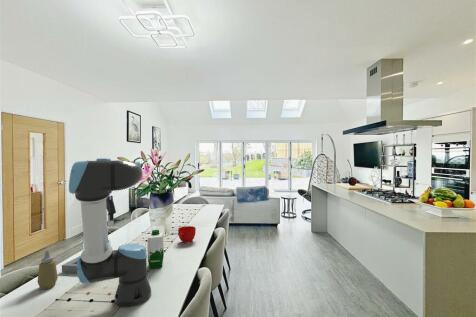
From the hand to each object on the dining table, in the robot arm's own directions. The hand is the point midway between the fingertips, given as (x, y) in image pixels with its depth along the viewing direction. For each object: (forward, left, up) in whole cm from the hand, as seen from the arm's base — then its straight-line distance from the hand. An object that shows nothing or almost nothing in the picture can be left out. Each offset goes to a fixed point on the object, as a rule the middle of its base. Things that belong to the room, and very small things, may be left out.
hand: (104, 224), depth 139 cm
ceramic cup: (+52, -28, -27) cm, 65 cm away
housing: (+10, +17, -26) cm, 33 cm away
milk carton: (+11, -24, -27) cm, 38 cm away
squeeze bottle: (-17, +19, -27) cm, 37 cm away
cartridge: (0, 0, -26) cm, 26 cm away
